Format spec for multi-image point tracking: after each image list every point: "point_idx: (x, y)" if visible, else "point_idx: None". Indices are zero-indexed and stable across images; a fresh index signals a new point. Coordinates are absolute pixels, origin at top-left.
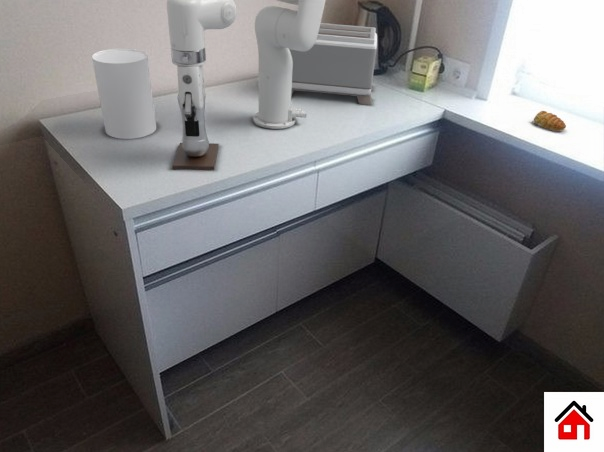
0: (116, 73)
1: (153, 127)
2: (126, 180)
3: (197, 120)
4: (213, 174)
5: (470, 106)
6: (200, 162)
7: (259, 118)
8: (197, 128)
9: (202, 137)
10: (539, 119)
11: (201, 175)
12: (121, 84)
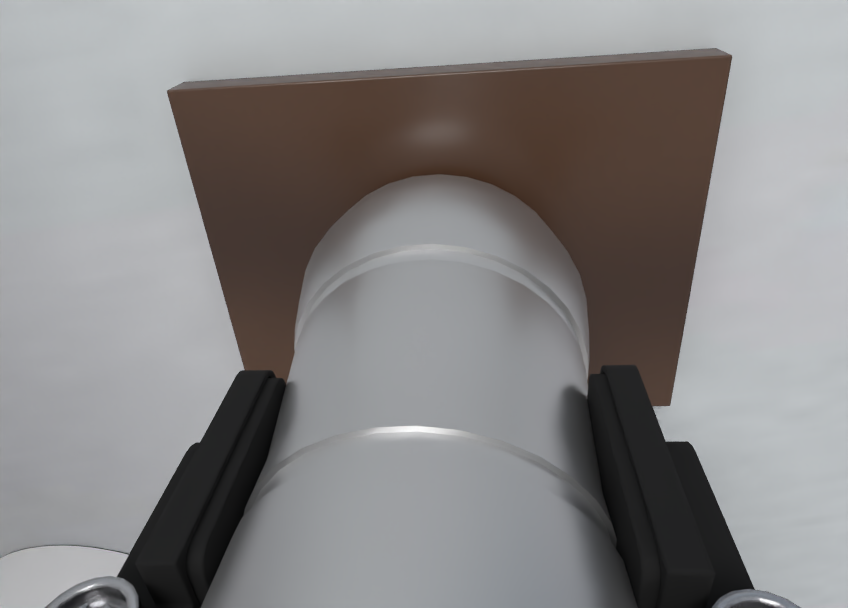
0: None
1: (87, 575)
2: (782, 575)
3: (688, 585)
4: (814, 40)
5: None
6: (626, 206)
7: None
8: (661, 462)
9: (537, 303)
10: None
11: (810, 157)
12: None
